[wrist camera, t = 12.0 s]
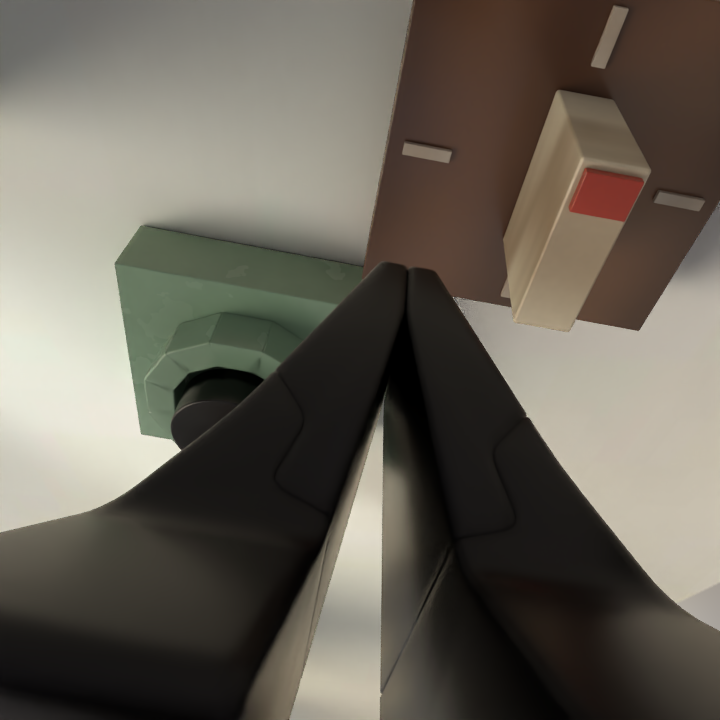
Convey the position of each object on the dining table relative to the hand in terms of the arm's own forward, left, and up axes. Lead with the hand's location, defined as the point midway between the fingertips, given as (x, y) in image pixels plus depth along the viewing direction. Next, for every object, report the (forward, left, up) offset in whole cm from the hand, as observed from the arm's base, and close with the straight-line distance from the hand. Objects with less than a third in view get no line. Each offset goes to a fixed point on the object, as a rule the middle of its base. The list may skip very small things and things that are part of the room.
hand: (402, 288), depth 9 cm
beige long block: (-4, +2, -10) cm, 11 cm away
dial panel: (-4, +2, -13) cm, 14 cm away
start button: (+5, +14, -9) cm, 17 cm away
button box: (+5, +14, -13) cm, 19 cm away
